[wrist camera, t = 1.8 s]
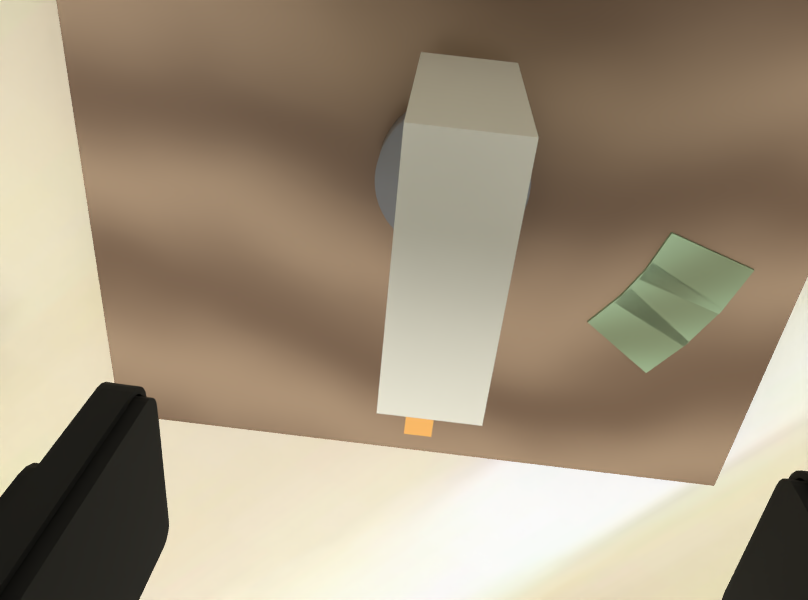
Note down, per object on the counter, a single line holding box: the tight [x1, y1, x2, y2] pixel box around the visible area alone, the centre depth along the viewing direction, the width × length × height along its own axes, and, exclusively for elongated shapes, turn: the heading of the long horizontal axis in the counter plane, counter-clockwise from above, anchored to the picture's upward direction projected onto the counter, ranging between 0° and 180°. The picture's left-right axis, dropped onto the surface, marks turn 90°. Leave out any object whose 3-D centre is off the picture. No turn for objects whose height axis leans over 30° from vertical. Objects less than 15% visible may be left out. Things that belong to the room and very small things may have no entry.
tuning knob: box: [375, 52, 539, 437], centre depth 20 cm, size 14×4×7 cm, turn 175°
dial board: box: [56, 0, 808, 486], centre depth 22 cm, size 23×23×2 cm
